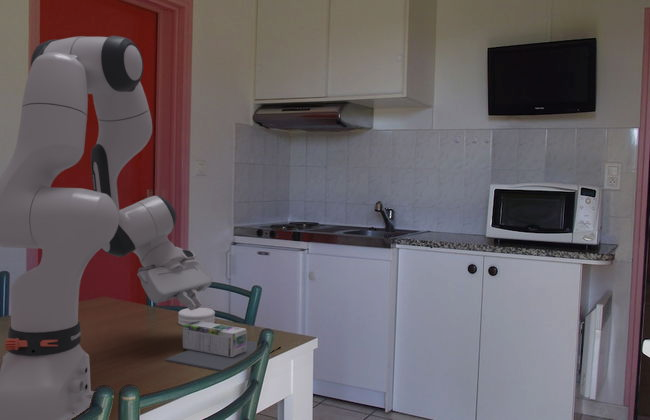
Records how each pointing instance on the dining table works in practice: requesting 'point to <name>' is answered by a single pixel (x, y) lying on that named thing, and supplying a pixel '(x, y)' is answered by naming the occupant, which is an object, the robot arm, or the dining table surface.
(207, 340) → the syrup box
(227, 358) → the mat
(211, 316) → the white round tub
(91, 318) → the dining table surface
